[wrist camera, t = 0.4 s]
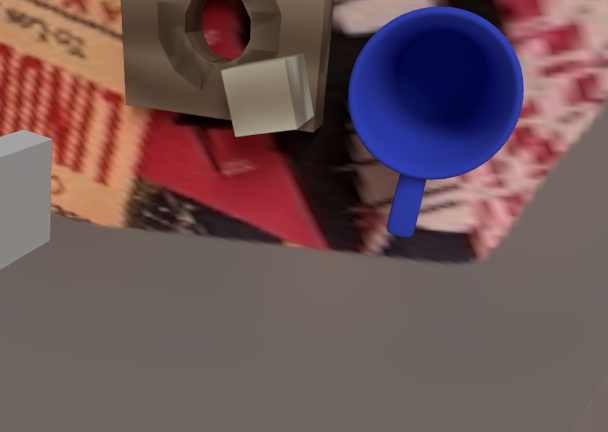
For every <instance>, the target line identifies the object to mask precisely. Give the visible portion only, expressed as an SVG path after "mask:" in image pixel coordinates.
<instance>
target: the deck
mask: <svg viewBox="0 0 608 432" xmlns="http://www.w3.org/2000/svg"><path fill="white" fill-rule="evenodd" d="M207 1H208V0H121V11H122V30H123V50H124V70H125V90H126V105H132V106H139V107H146V108H153V109H159V110H166V111H173V112H180V113H186V114H193V115H200V116H207V117H213V118H220V119H227V120H232V119H231V114H230V110H229V105H228V100H227V96H226V91H225V87H224V82H223V77H222V73H221V70H224V69H228V68H231V67H235V66H238V65H241V64H245V63H250V62H256V61H262V60H268V59H274V58H280V57H286V56H292V55H297V54H303V53H304V59H305V65H306V71H307V77H308V83H309V89H310V95H311V101H312V107H313V113H314V116H313V117H312V118H311V119H310V120H308V121H307V122H306V123H304V124H303V125H302V126H300V127H299V128H298V129H295V130H301V131H308V132H314V131H315V130H317V129H318V128H319V127H320V126H321V125H322V122H323V111H324V101H325V90H326V80H327V69H328V59H329V48H330V37H331V27H332V16H333V6H334V0H242V1H243V3H244V6H245V8H246V10H247V12H248V14H249V17H250V19H251V33H250V41H249V43H248V45H247V47H246V48H245V50H244V52H243V53H242V55H241V56H240V57H238V58H236V59H234V60H233V59H225V58H222V57H221V56H220V55H218V54H217V53H216V52H215V51H213V50H212V49H211V48H210V47H209V45H208V43H207V41H206V39H205V37H204V35H203V33H202V11H203V9H204V7H205V5H206V3H207Z"/></svg>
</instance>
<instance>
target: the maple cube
mask: <svg viewBox="0 0 608 432" xmlns="http://www.w3.org/2000/svg"><path fill="white" fill-rule="evenodd" d="M221 73H222V77H223V82H224V87H225V91H226V96H227V100H228V105H229V110H230V114H231V119H232V123H233V128H234V133H235V137H238V136H246V135H254V134H262V133H270V132H279V131H287V130H295V129H298V128H299V127H300V126H302V125H303V124H304V123H306V122H307V121H308V120H310V119H311V118H312V117H313V116H314V113H313V107H312V101H311V95H310V89H309V83H308V77H307V71H306V65H305V59H304V53H303V54H297V55H292V56H286V57H280V58H274V59H268V60H262V61H256V62H250V63H245V64H241V65H238V66H235V67H231V68H228V69H224V70H221Z"/></svg>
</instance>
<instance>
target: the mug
mask: <svg viewBox="0 0 608 432" xmlns="http://www.w3.org/2000/svg"><path fill="white" fill-rule="evenodd" d="M523 92H524V87H523V76H522V71H521V66H520V63H519V61H518V58H517V56H516V54H515V52H514V50H513V48H512V46H511V45H510V43H509V42H508V40H507V39H506V38H505V36H504V35H503V34H502V33H501V32H500V31H499V30H498V29H497V28H496V27H495V26H493V25H492V24H491V23H489V22H488V21H487V20H485V19H484V18H482V17H480V16H478V15H476V14H474V13H471V12H468V11H465V10H462V9H457V8H451V7H428V8H422V9H418V10H414V11H411V12H408V13H406V14H403V15H401V16H399V17H397V18H395V19H394V20H392V21H390V22H389V23H387V24H386V25H385V26H383V27H382V28H381V29H380V30H379V31H377V32H376V33H375V34H374V35H373V36H372V38H371V39H370V40H369V41H368V42H367V43H366V45H365V46H364V48H363V49H362V51H361V53H360V54H359V56H358V58H357V60H356V63H355V65H354V68H353V71H352V74H351V78H350V83H349V91H348V102H349V111H350V116H351V120H352V123H353V126H354V129H355V131H356V133H357V135H358V137H359V139H360V140H361V142H362V143H363V145H364V146H365V147H366V149H367V150H368V151H369V152H370V153H371V154H372V155H373V156H374V157H375V158H376V159H377V160H378V161H379V162H381V163H382V164H383V165H385V166H386V167H388V168H390V169H392V170H393V171H395V172H398V173H400V177H399V181H398V184H397V187H396V191H395V195H394V198H393V202H392V206H391V211H390V215H389V219H388V224H387V230H388V232H389V233H391V234H393V235H396V236H400V237H405V238H406V237H411V236H412V235H413V233H414V229H415V226H416V222H417V218H418V214H419V210H420V205H421V201H422V197H423V192H424V187H425V183H426V179H429V180H436V179H446V178H451V177H455V176H459V175H462V174H464V173H467V172H469V171H471V170H473V169H475V168H477V167H479V166H481V165H482V164H484V163H485V162H487V161H488V160H489V159H490V158H492V157H493V156H494V155H495V154H496V153H497V152H498V151H499V150H500V149H501V148H502V146H503V145H504V144H505V143H506V141H507V140H508V138H509V137H510V135H511V134H512V132H513V130H514V128H515V126H516V124H517V121H518V118H519V116H520V112H521V108H522V103H523Z"/></svg>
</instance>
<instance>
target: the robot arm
mask: <svg viewBox="0 0 608 432" xmlns="http://www.w3.org/2000/svg"><path fill="white" fill-rule="evenodd" d="M51 159H52V139H50V138H47V137H44V136H41V135H38V134H35V133H32V132H29V131H27V130H21V131H18V132H14V133H11V134H8V135H5V136H2V137H0V270H1V269H2V268H4V267H6V266H7V265H9V264H11V263H12V262H14V261H15V260H17V259H19V258H21V257H22V256H24V255H25V254H27V253H29V252H31V251H32V250H34V249H36V248H37V247H39V246H41V245H42V244H44V243H46V242H48V241H49V240H50V207H51ZM572 432H608V374H607V376H606V377H605V379H604V381H603V382H602V384H601V385H600V387H599V389H598V390H597V392H596V393H595V395H594V397H593V398H592V400H591V402H590V403H589V405H588V406H587V408H586V410H585V411H584V413H583V414H582V416H581V418H580V419H579V421H578V422H577V424H576V426H575V427H574V429H573V430H572Z"/></svg>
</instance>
